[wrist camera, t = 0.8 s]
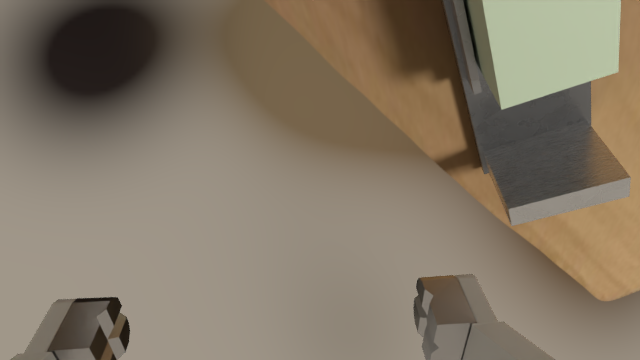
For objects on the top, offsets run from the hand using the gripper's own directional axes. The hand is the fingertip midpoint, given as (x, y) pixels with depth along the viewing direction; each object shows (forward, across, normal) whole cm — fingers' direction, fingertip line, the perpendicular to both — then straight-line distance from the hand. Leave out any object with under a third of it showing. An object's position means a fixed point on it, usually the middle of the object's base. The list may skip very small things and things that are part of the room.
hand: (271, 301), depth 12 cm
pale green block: (+35, -22, 0) cm, 41 cm away
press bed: (+38, -26, +7) cm, 46 cm away
